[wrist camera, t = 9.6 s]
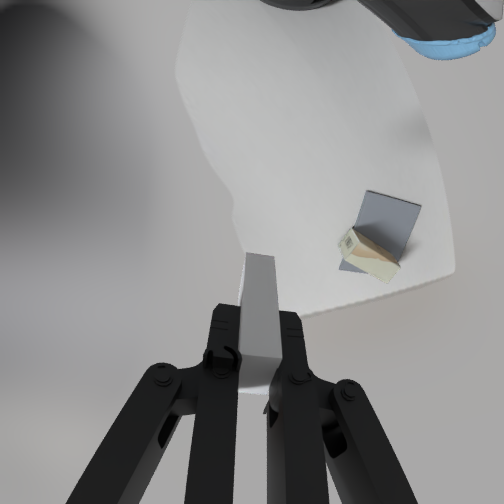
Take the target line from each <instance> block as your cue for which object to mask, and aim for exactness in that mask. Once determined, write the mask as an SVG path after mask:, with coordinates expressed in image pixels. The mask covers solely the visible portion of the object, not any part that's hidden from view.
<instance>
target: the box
mask: <svg viewBox="0 0 504 504" xmlns="http://www.w3.org/2000/svg"><path fill="white" fill-rule="evenodd" d="M338 247H339V249H340V252H341V254H342V256H343V258H344V260H345V261H347V262H349V263H351V264H352V265H354V266H356V267H358V268H360V269H361V270H363V271H365V272H367V273H369V274H370V275H372V276H374V277H376V278H377V279H379V280H381V281H383V282H384V283H386V284H387V283H388V282H389V281H390V280H391V279H392V278H393V276H394V275H395V274H396V273H397V272H398V270H399V269H400V268H401V267H400V265H399V263H398V262H397V260H396V259H395V257H394V256H393V255H392V254H391V253H390V252H388V251H387V250H385V249H384V248H382V247H381V246H379V245H378V244H376V243H375V242H373V241H371V240H370V239H368V238H367V237H365V236H364V235H362V234H360V233H359V232H357V231H356V230H354V229H353V228H351V229H350V230H349V232H348V233H347V234H346V235H345V237H344V238H343V239H342V241H341V242H340V243H339V245H338Z"/></svg>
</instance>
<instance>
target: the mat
mask: <svg viewBox="0 0 504 504" xmlns="http://www.w3.org/2000/svg"><path fill="white" fill-rule="evenodd" d="M420 208H421V206H419V205H416V204H412V203H409V202H405V201H402V200H399V199H395V198H391V197H388V196H384V195H380V194H377V193H373V192H369V191H366V193H365V196H364V200H363V203H362V206H361V209H360V212H359V215H358V218H357V221H356V224H355V226H354V230H356V231H357V232H359V233H360V234H362V235H364V236H365V237H367V238H368V239H370V240H371V241H373V242H375V243H376V244H378V245H379V246H381V247H382V248H384V249H385V250H387V251H388V252H390V253H391V254H392V255H393V256H394V257H395V259H396V260H397V262H398V260H399V258H400V256H401V254H402V252H403V249H404V247H405V245H406V243H407V240H408V238H409V236H410V233H411V231H412V228H413V226H414V223H415V221H416V218H417V216H418V213H419V211H420ZM339 270H345V271H352V272H359V273H366V274H369V273H367V272H365V271H363V270H361V269H360V268H358V267H356V266H354V265H352V264H351V263H349V262H347V261H345V260H344V258H343V259H342V262H341V265H340V267H339Z"/></svg>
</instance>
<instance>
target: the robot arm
mask: <svg viewBox="0 0 504 504" xmlns="http://www.w3.org/2000/svg"><path fill="white" fill-rule="evenodd" d="M260 1H262V2H264V3H266V4H268V5H271V6H274V7H277V8H281V9H286V10H310V9H314V8H318V7H321V6H323V5H325V4H327V3H328V2H330V1H331V0H260ZM357 1H358V2H359V3H361V4H362V5H363V6H365V7H366V8H367V9H369V10H370V11H371V12H372V13H374V14H375V15H376V16H377V17H379V18H380V19H381V20H382V21H384V23H386V24H387V25H388V26H389V27H390V28H391V29H392V31H393V32H394V34H396V35H397V36H398V37H400V38H401V39H403V40H404V41H406V42H407V43H408V44H409V45H410V46H411V47H412V48H413V49H414V50H415V51H416V52H418V53H419V54H421V55H424V56H425V57H427V58H430V59H434V60H452V59H458V58H462V57H465V56H468V55H471V54H474V53H476V52H478V51H480V47H482V46H487V45H488V44H490V43H491V41H492V40H493V39H494V37H495V34H496V28H495V24H494V22H496V21H499V20H501V19H502V15H503V4H504V0H357ZM268 391H269V401H268V402H267V405H266V407H265V409H264V412H263V414H266V412H267V504H329V494H328V483H327V471H326V463H327V466H328V468H329V471H330V474H331V476H332V479H333V482H334V484H335V487H336V489H337V492H338V495H339V497H340V499H341V502H342V504H418V503H417V500H416V498H415V496H414V493H413V491H412V489H411V487H410V485H409V482H408V480H407V478H406V476H405V474H404V471H403V469H402V467H401V465H400V463H399V461H398V459H397V457H396V454H395V452H394V451H393V448H392V446H391V444H390V442H389V440H388V438H387V436H386V434H385V432H384V430H383V428H382V426H381V424H380V422H379V419H378V418H377V416H376V414H375V411H374V410H373V408H372V406H371V404H370V402H369V400H368V398H367V396H366V394H365V392H364V390H363V388H362V387H361V386H360V384H358V383H357V382H355V381H353V380H350V379H343V380H341V381H339V382H337V384H334V383H331V382H328V381H324V380H322V379H320V378H318V377H317V376H315V375H314V374H313V372H312V371H311V370H310V369H309V367H308V362H307V355H306V349H305V341H304V335H303V329H302V322H301V319H300V318H299V316H298V315H297V313H296V312H288V311H279V307H278V294H277V283H276V271H275V260H274V256H268V255H261V254H254V253H247V252H246V255H245V261H244V266H243V272H242V278H241V283H240V290H239V298H238V306H235V305H227V304H220V303H219V304H218V305H217V306H216V308H215V309H214V310H213V314H212V320H211V326H210V332H209V338H208V343H207V349H206V350H205V352H204V354H203V361H202V362H201V363H199V364H198V365H196V366H194V367H190V368H184V369H177V368H176V367H175V366H173V365H171V364H168V363H156V364H154V365H152V366H150V367H149V368H148V369H147V370H146V372H145V373H144V375H143V377H142V378H141V380H140V381H139V383H138V385H137V386H136V388H135V389H134V391H133V392H132V394H131V396H130V397H129V399H128V400H127V402H126V403H125V405H124V407H123V408H122V410H121V411H120V413H119V415H118V416H117V418H116V420H115V421H114V423H113V425H112V426H111V428H110V429H109V431H108V433H107V434H106V436H105V437H104V439H103V441H102V442H101V444H100V446H99V447H98V449H97V451H96V452H95V454H94V456H93V458H92V459H91V461H90V462H89V464H88V466H87V467H86V469H85V471H84V473H83V474H82V476H81V478H80V479H79V481H78V483H77V484H76V486H75V488H74V490H73V492H72V493H71V495H70V497H69V498H68V500H67V502H66V504H139V502H140V500H141V498H142V496H143V494H144V492H145V490H146V488H147V486H148V484H149V482H150V480H151V478H152V476H153V474H154V472H155V470H156V468H157V466H158V464H159V462H160V460H161V458H162V456H163V454H164V452H165V450H166V448H167V446H168V444H169V442H170V440H171V438H172V435H173V433H174V431H175V429H176V427H177V425H178V423H179V421H180V419H181V417H182V416H183V415H190V414H195V421H194V429H193V436H192V444H191V451H190V459H189V467H188V475H187V483H186V493H185V501H184V504H233V487H234V465H235V444H236V443H235V442H236V424H237V405H238V392H241V393H252V394H264V395H267V393H268Z"/></svg>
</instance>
